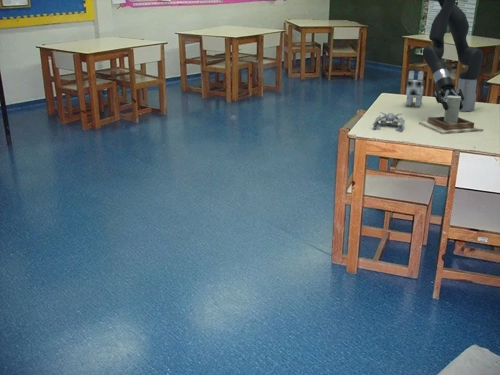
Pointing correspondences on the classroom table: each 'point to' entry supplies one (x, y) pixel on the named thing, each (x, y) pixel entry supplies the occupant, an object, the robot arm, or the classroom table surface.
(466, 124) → the holder
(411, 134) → the classroom table surface
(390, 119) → the spaceship toy
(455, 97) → the skincare box
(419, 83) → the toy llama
